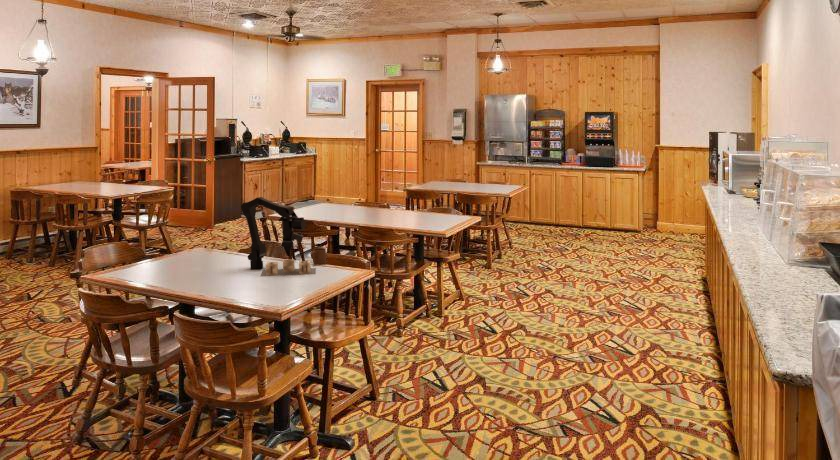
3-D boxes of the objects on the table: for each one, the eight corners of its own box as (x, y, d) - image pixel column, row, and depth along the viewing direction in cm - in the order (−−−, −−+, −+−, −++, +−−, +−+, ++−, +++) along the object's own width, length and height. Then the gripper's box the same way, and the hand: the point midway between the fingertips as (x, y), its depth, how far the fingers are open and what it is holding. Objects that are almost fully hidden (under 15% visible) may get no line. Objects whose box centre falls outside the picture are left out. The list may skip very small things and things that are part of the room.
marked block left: (266, 275, 336) (265, 264, 335) (267, 272, 342) (266, 262, 341) (277, 274, 337) (276, 263, 336) (277, 272, 343) (277, 261, 342)
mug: (316, 267, 358) (316, 251, 357) (306, 266, 361) (305, 250, 360) (328, 263, 369) (328, 248, 367) (318, 262, 372) (317, 247, 371)
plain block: (283, 272, 343) (282, 261, 342) (283, 269, 349) (283, 259, 348) (294, 271, 344) (293, 261, 343) (294, 269, 350) (294, 259, 349)
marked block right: (299, 274, 339) (298, 263, 338) (299, 271, 345) (299, 260, 344) (310, 273, 340) (309, 262, 339) (310, 271, 346) (310, 260, 345)
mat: (260, 277, 334) (260, 276, 334) (262, 271, 349) (262, 269, 349) (315, 275, 339) (315, 274, 338) (315, 269, 354) (315, 268, 354)
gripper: (301, 231, 335) (302, 258, 338) (302, 226, 353) (303, 252, 356) (281, 231, 333) (282, 259, 336) (283, 226, 352) (284, 253, 354)
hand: (288, 256), depth 345 cm, fingers closed
